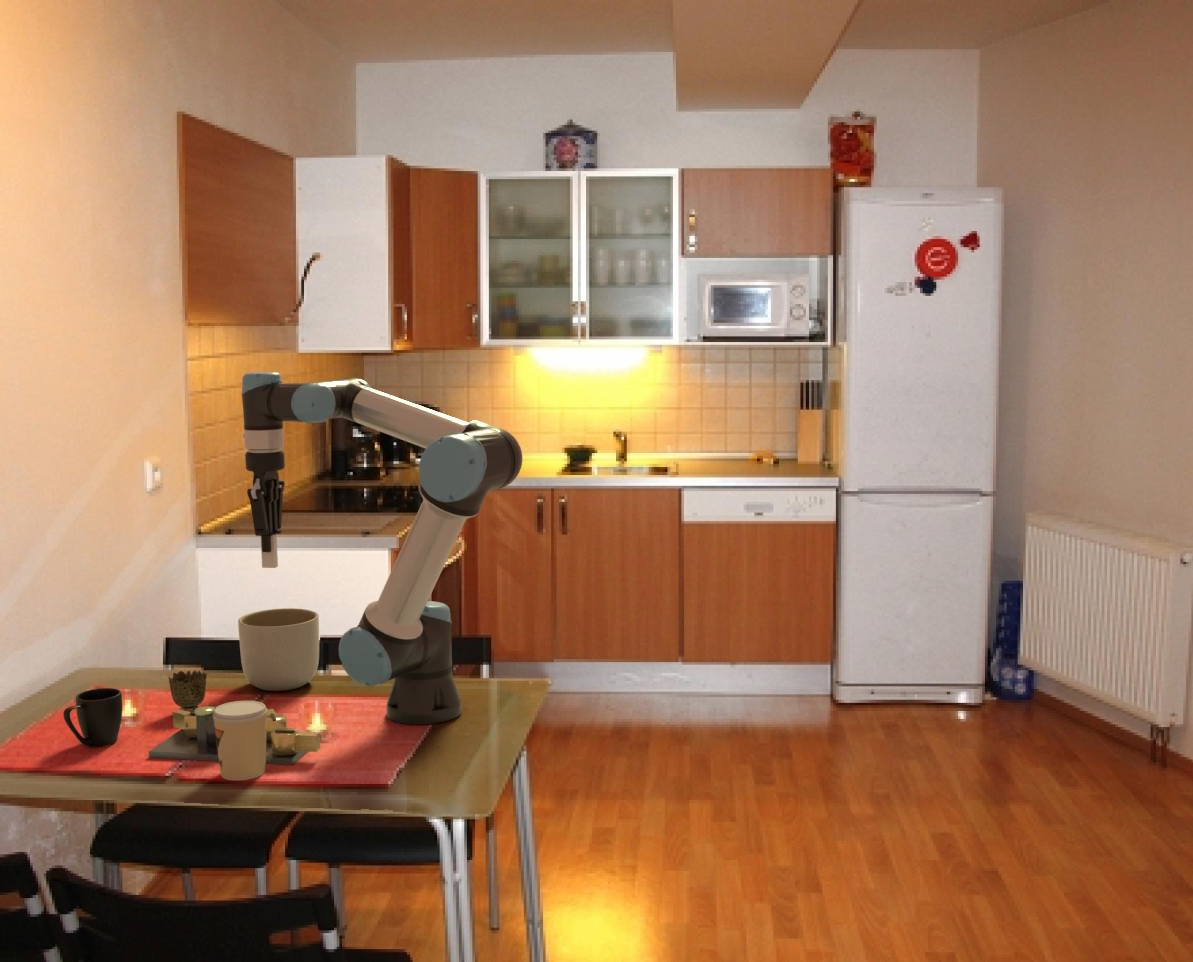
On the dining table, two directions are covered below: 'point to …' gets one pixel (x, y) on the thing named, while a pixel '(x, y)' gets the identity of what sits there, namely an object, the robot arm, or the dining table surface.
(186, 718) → the knob
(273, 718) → the knob
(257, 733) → the coffee cup
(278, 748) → the knob
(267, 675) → the planter
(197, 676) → the cup
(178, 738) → the plate
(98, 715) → the mug
